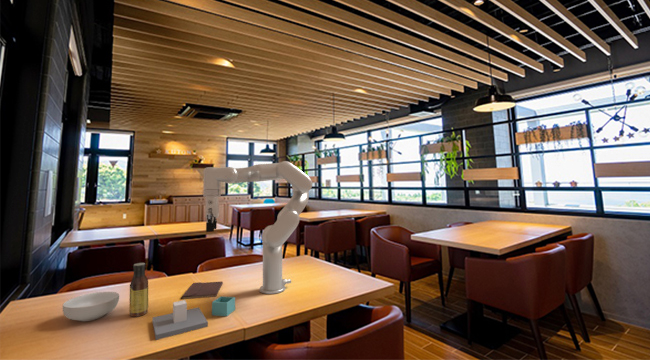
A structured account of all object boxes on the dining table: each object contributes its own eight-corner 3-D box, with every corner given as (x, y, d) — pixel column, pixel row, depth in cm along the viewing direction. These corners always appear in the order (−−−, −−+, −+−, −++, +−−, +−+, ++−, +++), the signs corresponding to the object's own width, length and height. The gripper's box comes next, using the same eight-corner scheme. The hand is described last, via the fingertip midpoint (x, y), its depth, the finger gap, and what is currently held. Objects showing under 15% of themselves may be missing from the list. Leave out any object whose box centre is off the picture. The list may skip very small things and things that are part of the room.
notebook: (222, 284, 149) (222, 280, 149) (216, 297, 130) (216, 293, 130) (192, 286, 146) (192, 282, 146) (181, 300, 127) (181, 295, 127)
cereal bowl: (71, 331, 97) (72, 310, 98) (55, 320, 106) (55, 301, 106) (126, 313, 112) (127, 295, 112) (108, 305, 120) (108, 288, 121)
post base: (198, 311, 113) (199, 292, 114) (207, 326, 100) (208, 304, 101) (152, 321, 104) (152, 301, 105) (155, 340, 91) (156, 316, 91)
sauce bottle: (135, 311, 114) (136, 261, 115) (151, 310, 114) (152, 261, 115) (125, 318, 107) (126, 265, 108) (142, 317, 108) (143, 265, 109)
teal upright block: (220, 308, 116) (220, 296, 116) (235, 309, 115) (235, 297, 115) (211, 315, 110) (212, 302, 110) (226, 316, 108) (227, 303, 109)
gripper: (218, 193, 124) (217, 232, 123) (222, 193, 141) (221, 227, 140) (200, 193, 122) (199, 233, 121) (206, 193, 139) (205, 228, 138)
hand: (211, 230), depth 131 cm, fingers open, 9 cm apart
